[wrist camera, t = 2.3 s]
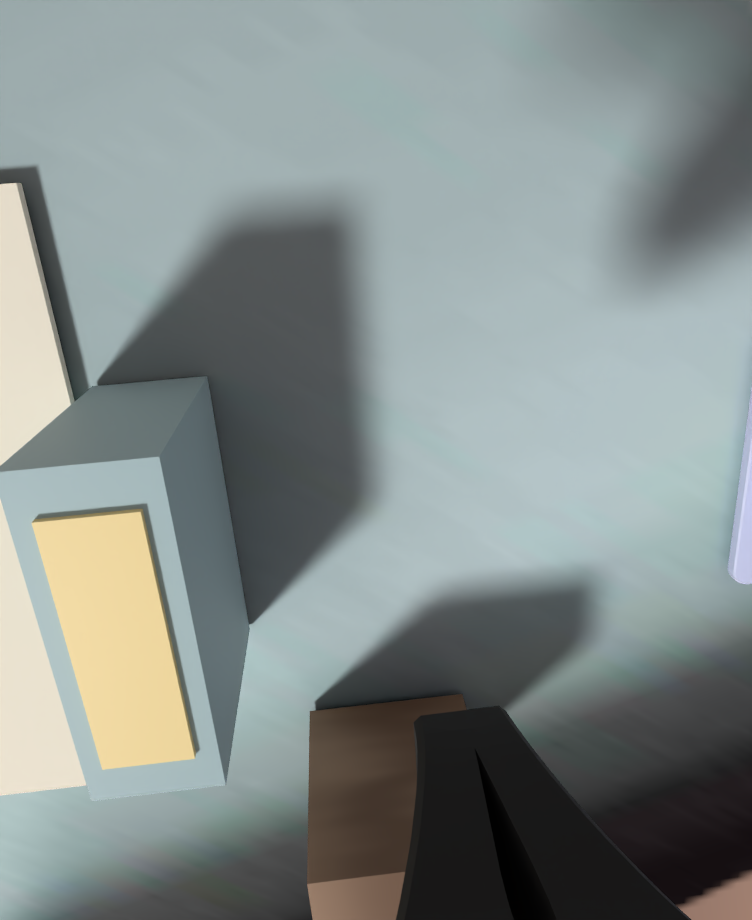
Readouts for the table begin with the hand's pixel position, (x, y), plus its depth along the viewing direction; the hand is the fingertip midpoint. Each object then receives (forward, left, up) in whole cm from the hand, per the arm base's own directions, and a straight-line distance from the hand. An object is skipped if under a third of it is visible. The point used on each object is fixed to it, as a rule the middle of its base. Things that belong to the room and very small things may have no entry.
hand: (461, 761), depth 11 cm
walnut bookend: (+1, +8, -10) cm, 13 cm away
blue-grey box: (+6, 0, -10) cm, 12 cm away
